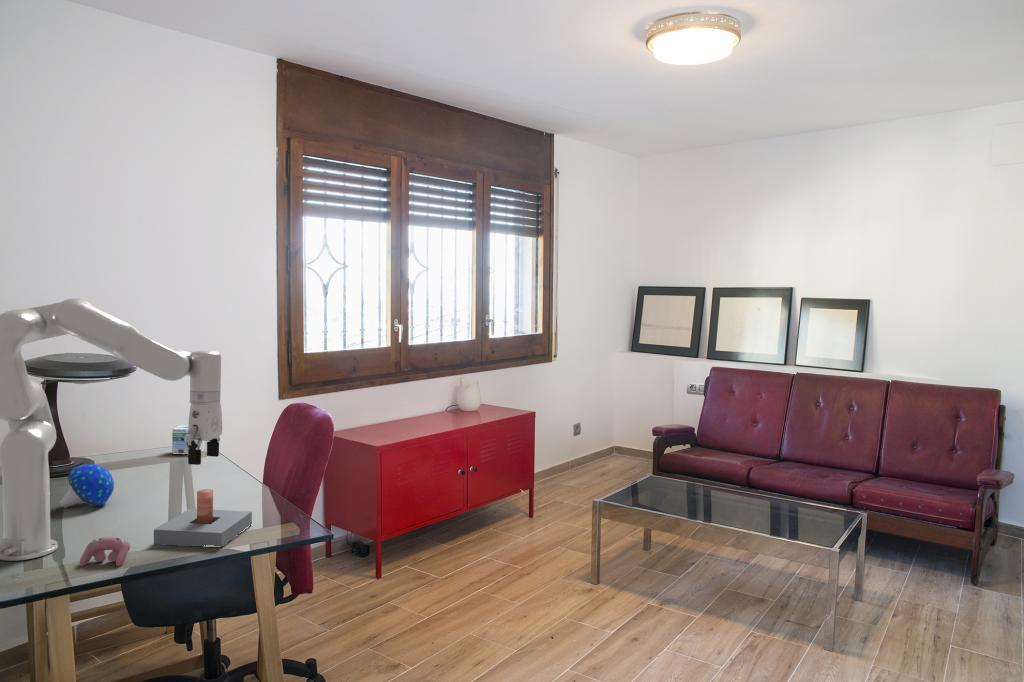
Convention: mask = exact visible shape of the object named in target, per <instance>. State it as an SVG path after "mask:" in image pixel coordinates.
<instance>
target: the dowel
mask: <svg viewBox="0 0 1024 682" xmlns="http://www.w3.org/2000/svg"><path fill="white" fill-rule="evenodd" d="M196 509H197V524H212V523H213V510H214V489H211V488H210V489H209V488H206V489H205V488H204V489H198V490H197V491H196Z"/></svg>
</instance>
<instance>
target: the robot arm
mask: <svg viewBox="0 0 1024 682" xmlns="http://www.w3.org/2000/svg"><path fill="white" fill-rule="evenodd" d="M65 335H66V336H67V335H71V336H73V337H75V338H77V339H79V340H81V341H84V342H87V343H88V344H90V345H91V346H92V345H93V346H94V347H97V348H99V349H101V350H103V351H105V352H107V353H109V354H111V355H113V356H115V357H116V358H118V359H121V360H123V361H125V362H127V363H129V364H131V365H133V366H134V367H137V368H138V369H141V370H142V371H145V372H147V373H150V374H151V375H153V376H156V377H158V378H160V379H163V380H165V381H169V382H170V381H171V382H175V381H179V380H181V379H183V378H185V377H187V376H189V404H190V408H189V414H188V425H187V426H188V433H187V434H186V436H185V438H186V441H187V442H186V443H187V446H188V447H187V449H188V455H187V456H188V457H187V463H188V465H191V466H193V465H195V466H199V465H201V464H202V454H201V449H200V446H201V444H202V441H205V442H206V456H207V457H216V458H217V457H219V456H220V441H221V438H220V436H222V435H223V415H222V413H223V412H222V405H221V395H222V394H221V393H222V392H221V388H222V383H221V382H222V380H221V379H222V378H221V377H222V355H221V353H220V352H218V351H215V350H196V351H192V350H185V349H179V348H178V349H177V348H176V349H175V348H174V349H171V348H168V347H166V346H164V345H163V344H160V343H159V342H157V341H154V340H152V339H151V338H149V337H148V336H145V335H144V334H142V333H141V332H140V331H139V330H137V328H135V327H134V326H133V325H131V324H130V323H128V322H126V321H123V320H121V319H120V318H117V317H115V316H113V315H111V314H108V313H106V312H104V311H102V310H100V309H98V308H97V307H95V306H94V305H93V304H92V303H91V302H89V301H87V300H85V299H81V298H68V299H64V300H62V301H60V302H56V303H50V304H46V305H41V306H35V307H29V308H23V309H13V310H8V311H4V312H3V313H0V420H2V421H4V422H7V424H8V426H9V430H10V431H9V432H7V433H6V435H5V436H4V437H3V439H2V441H1V442H0V466H1V478H2V479H1V480H2V524H3V525H2V526H3V529H2V533H3V539H1V540H0V561H1V560H2V561H9V562H10V561H11V562H12V561H14V562H15V561H17V562H18V561H25V560H31V559H36V558H40V557H43V556H47V555H49V554H51V553H53V552H56V550H57V549H58V547H59V545H58V544H59V542H58V541H57V540H55V539H51V486H50V485H51V484H50V483H51V482H50V481H51V479H50V478H51V477H50V475H51V474H50V467H49V452H50V451H51V450H52V449H53V448H54V446H55V444H56V441H57V430H56V425H55V422H54V419H53V414H52V412H51V408H50V404H49V401H48V398H47V395H46V393H45V390H44V388H43V387H42V386H41V385H40V384H39V383H37V382H36V381H33V380H31V379H30V378H29V374H28V370H27V367H26V363H25V360H24V358H23V356H22V352H21V351H22V350H21V349H22V346H23V345H25V344H29V343H33V342H37V341H42V340H46V339H50V338H51V339H52V338H55V337H56V338H57V337H61V336H65ZM195 442H198V443H197V444H196V443H195Z"/></svg>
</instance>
